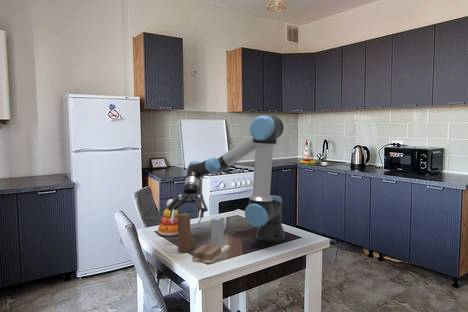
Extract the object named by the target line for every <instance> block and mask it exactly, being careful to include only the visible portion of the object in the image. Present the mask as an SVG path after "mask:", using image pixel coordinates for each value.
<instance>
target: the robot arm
mask: <svg viewBox="0 0 468 312" xmlns="http://www.w3.org/2000/svg"><path fill="white" fill-rule="evenodd" d="M284 128H285V125H284V123H283V121H282V120H281V118H279V117H277V116H274V115H266V114H264V115H259V116H256V117H254V119H253V120H252V121H251V122H250V125H249V132H250V136H249V137H247V138H246V139H243V140H242V141H241V142H240V143H238V144H237V145H235V146H234V147H233V148H231V149H230V150H228V151H227V152H225V153H224V154H223V155H221V156H219V157H217V158H216V157H211V158H207V159H206V160H204V161H202V162H200V161H197V160H192V161H190V162H189V164H188V166H187V170H186V176H185V181H184V187H183V192H182V194H181V193H179V192H176V195H175V197H174V198H173V201H172V202H171V203H170V205H169V206H168V207H167V208H168V210H169V211H171V212H170V216H171V223H172V224H173V222H174V216H175V210H178V209H179V207H181V206H182V205H184V204H185V203H186V204H192V203H194V205H196V207H197V208H198V209H199V212H198V218H197V224H198V225H201V221H202V219H203V218H204V214H205V213H206V212H208V207H207V204H206V201H205V199H204V194H203V193H200V194H199V187H200V180H201V178H202V177H205V176H208V175H211V174H216V173H219V172H226V171H228V170H229V169H230V167H231V166H232V165H234V164H236V163H238V162H239V161H240V160H242V159H243V158H245V157H246V156H248V155H250V154H251V153H252V152H254V164H253V165H254V166H253V181H252V194H251V195H250V196H249V198H248V205H247V206H246V207H245V209H244V217H245V219H246V221H247V223H248V224H249V225H251V226H253V227H255V228H256V227H257V231H256V233H255V234H256V239H257V240H258V241H261V242H264V243H279V242H282V241H284V240H285V239H286V234H285V230H284V228H283V225H282V220H283V218H282V217H283V214H282V213H283V212H282V210H283V207H282V206H283V198H282V197H281V196H280V195H279V196H278V195H271V183H272V168H273V153H274V147H275V146H276V145H277V139H278V138H280V137H281V136H282V134H283V133H284ZM197 199H200V202H201V204H200V202H199V201H198V200H197Z"/></svg>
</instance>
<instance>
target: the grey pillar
mask: <svg viewBox="0 0 468 312" xmlns="http://www.w3.org/2000/svg"><path fill="white" fill-rule="evenodd" d="M224 220H225V219H224V216H220V215H219V216H217V215H215V216H214V217H212V218H211V219H210V224H211V225H210V228H211V229H210V234H211V235H210V237H211V238H210V243H211V246H220V247H222V246H223V245H225V244H224V243H225V242H224V238H225V237H224V234H225V233H224V230H225V229H224V227H225V226H224Z"/></svg>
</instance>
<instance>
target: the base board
mask: <svg viewBox="0 0 468 312" xmlns="http://www.w3.org/2000/svg"><path fill="white" fill-rule="evenodd" d="M230 249H231V246H230V245H229V244H224V245H223V246H222V247H220V246H211V242H210V243H209V244H202V245H201V246H200V247H198V248H197V249H196V250H194V251H193V252H192V257H191V261H192V262H197V263H204V264H205V263H206V264H211V265H213V264H214V263H216V262H217V261H218V260H219V259H221V257H222V256H223V255H225V254H226V253H227V251H229V250H230Z"/></svg>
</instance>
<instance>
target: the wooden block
mask: <svg viewBox="0 0 468 312" xmlns="http://www.w3.org/2000/svg"><path fill="white" fill-rule="evenodd" d="M195 248H196V238H195V237H192V235H191V213H187V212H181V213H178V235H177V252H180V253H185V254H186V253H189V252H190V251H191V250H193V249H195Z"/></svg>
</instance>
